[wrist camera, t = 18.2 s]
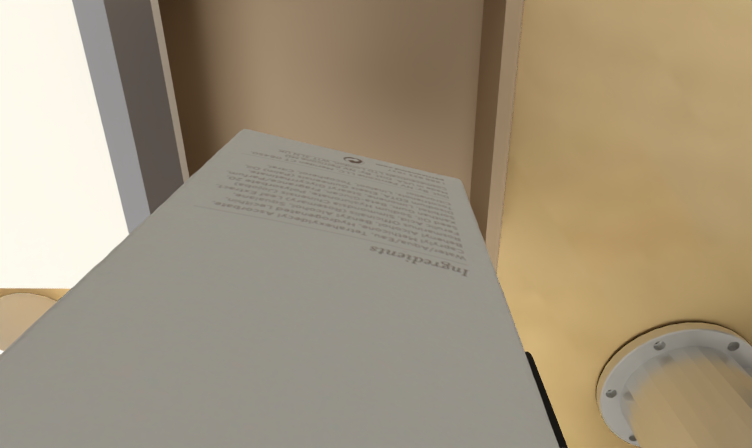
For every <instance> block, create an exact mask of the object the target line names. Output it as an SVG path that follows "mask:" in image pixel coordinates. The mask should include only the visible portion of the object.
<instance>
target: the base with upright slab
mask: <svg viewBox="0 0 752 448" xmlns="http://www.w3.org/2000/svg"><path fill="white" fill-rule="evenodd" d="M56 302H57V301H55V300H52V299H50V298H48V297H45V296H41V295H37V294H32V293H14V294H9V295H5V296H2V297H1V298H0V354H1V353H3V352H4V351H5V350H6V349H7V348H8V347H9V346H10V345H11V344H12V343H13V342H14V341H15V340H16V339H17V338H18V337H19V336H21V335H22V334H23V333H24V332H25V331H26V330H27V329H28V328H29V327H30V326H31V325H32V324H33V323H34V322H35V321H36V320H38V319H39V318H40V317H41V316H42V315H43V314H44V313H45V312H46V311H47V310H48V309H50V308H51V307H52V306H53V305H54V304H55V303H56Z"/></svg>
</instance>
